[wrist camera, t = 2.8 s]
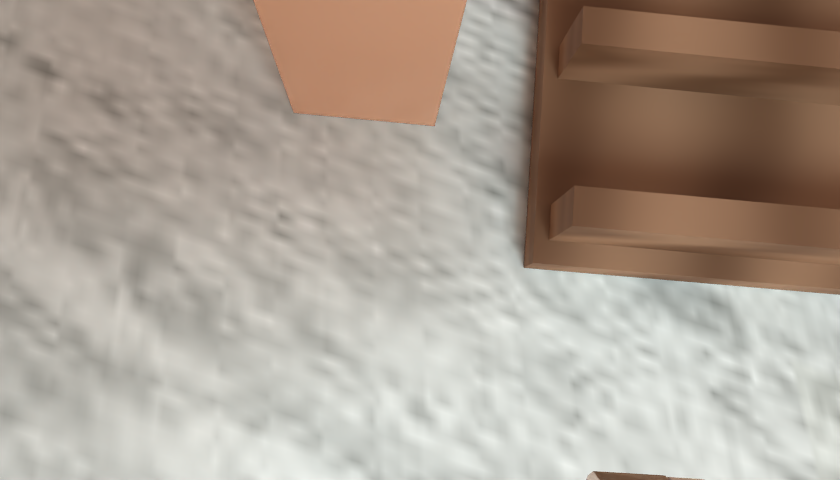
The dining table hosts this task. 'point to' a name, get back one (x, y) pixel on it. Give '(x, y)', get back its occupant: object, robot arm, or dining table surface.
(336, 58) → the clay slab
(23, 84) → the dining table surface
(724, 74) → the rack
